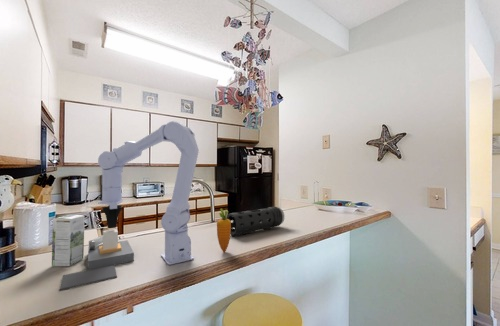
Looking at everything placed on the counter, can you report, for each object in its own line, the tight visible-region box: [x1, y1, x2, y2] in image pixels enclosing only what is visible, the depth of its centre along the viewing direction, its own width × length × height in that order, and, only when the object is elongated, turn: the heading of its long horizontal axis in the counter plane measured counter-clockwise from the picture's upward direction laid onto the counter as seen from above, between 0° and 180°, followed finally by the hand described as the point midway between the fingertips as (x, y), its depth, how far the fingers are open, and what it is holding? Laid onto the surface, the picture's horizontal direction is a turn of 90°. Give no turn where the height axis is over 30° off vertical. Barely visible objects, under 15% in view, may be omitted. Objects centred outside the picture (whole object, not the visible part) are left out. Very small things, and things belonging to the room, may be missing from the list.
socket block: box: [87, 239, 135, 270], centre depth 77 cm, size 16×12×2 cm
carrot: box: [216, 208, 232, 253], centre depth 81 cm, size 5×5×15 cm
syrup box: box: [51, 214, 86, 267], centre depth 73 cm, size 6×6×14 cm
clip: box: [88, 234, 103, 250], centre depth 84 cm, size 2×15×3 cm, turn 1°
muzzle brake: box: [226, 206, 285, 237], centre depth 108 cm, size 10×28×10 cm, turn 126°
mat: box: [59, 265, 118, 291], centre depth 63 cm, size 9×12×1 cm
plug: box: [99, 228, 121, 254], centre depth 77 cm, size 6×6×8 cm
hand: (111, 227), depth 79 cm, fingers closed
